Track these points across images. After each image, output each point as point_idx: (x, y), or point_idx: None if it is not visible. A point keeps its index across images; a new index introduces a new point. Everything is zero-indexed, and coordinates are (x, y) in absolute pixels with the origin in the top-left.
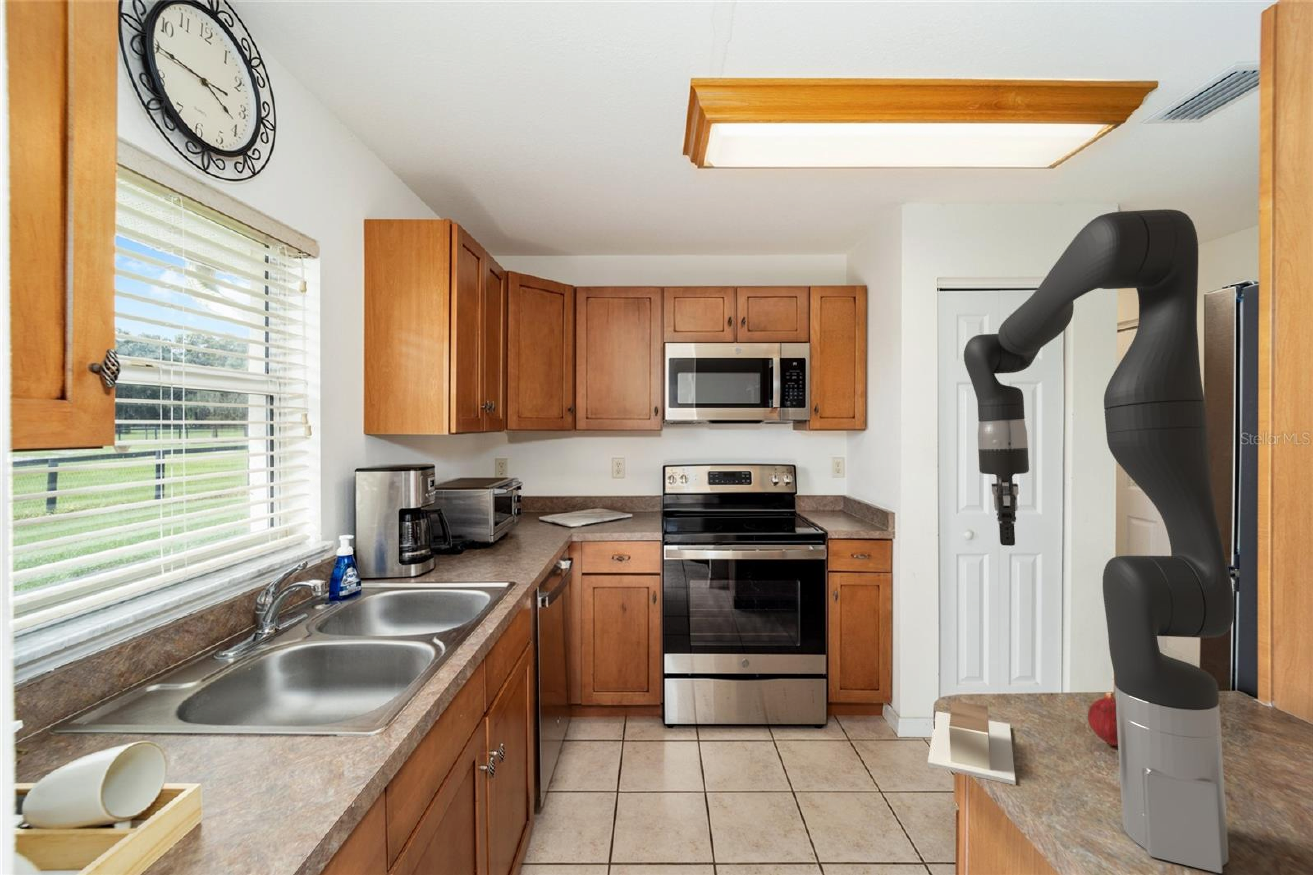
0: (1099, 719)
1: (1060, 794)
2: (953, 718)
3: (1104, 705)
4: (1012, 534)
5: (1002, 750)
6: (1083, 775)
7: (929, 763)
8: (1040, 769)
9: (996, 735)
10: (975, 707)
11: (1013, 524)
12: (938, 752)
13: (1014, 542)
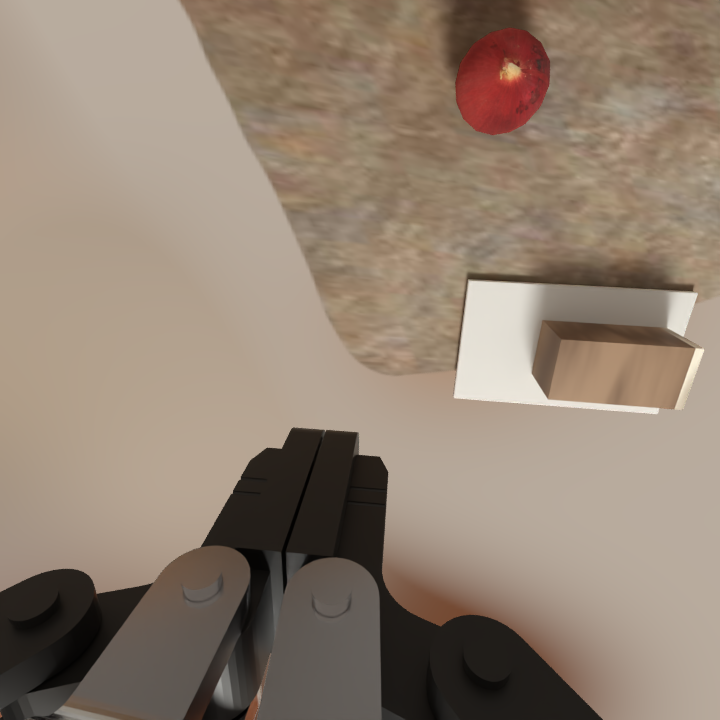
0: (533, 113)
1: (712, 225)
2: (639, 401)
3: (528, 92)
4: (350, 494)
5: (588, 302)
6: (634, 175)
7: (657, 410)
8: (626, 245)
9: (527, 307)
10: (574, 361)
11: (329, 561)
12: None
13: (357, 441)
